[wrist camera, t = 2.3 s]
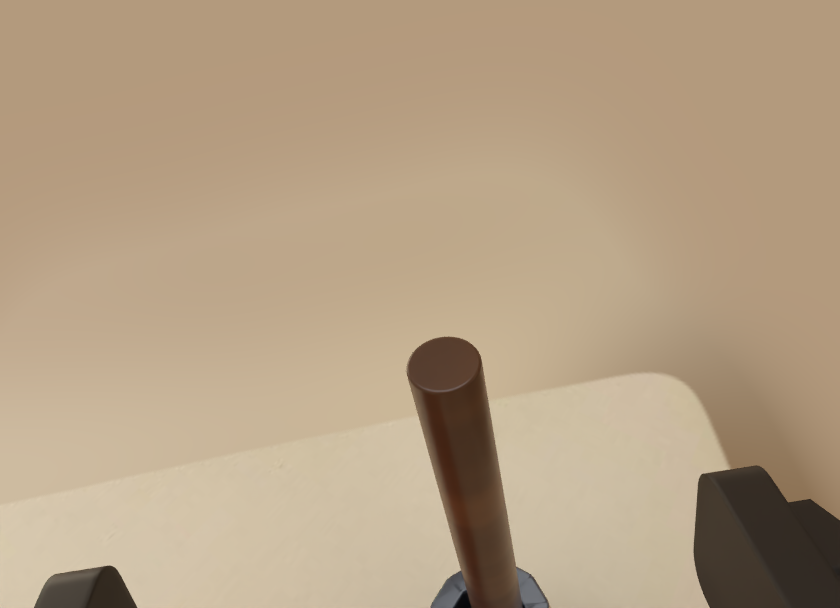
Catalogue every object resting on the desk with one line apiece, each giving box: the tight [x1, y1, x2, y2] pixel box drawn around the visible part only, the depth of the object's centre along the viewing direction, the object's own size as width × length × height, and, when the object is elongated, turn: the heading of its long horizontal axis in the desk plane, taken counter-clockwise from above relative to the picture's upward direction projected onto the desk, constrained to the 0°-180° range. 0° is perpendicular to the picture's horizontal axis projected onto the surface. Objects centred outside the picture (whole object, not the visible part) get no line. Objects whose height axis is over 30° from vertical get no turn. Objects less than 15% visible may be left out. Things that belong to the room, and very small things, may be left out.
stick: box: [407, 337, 523, 608], centre depth 22 cm, size 2×2×19 cm
